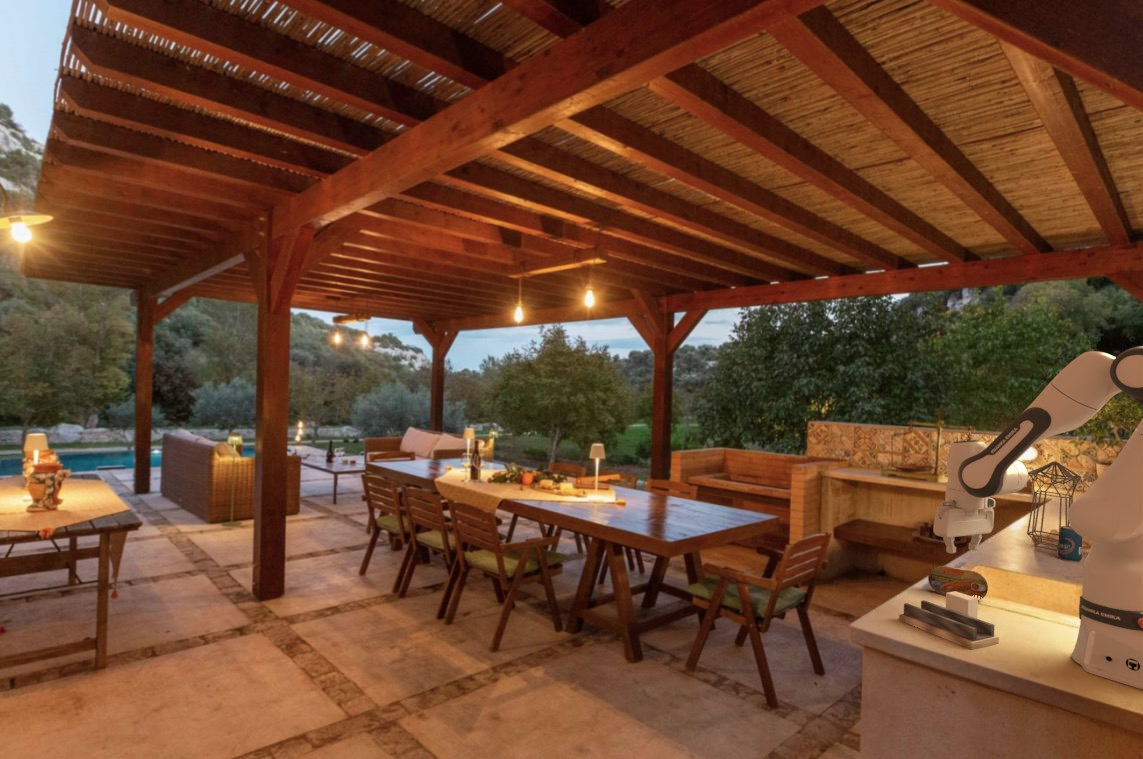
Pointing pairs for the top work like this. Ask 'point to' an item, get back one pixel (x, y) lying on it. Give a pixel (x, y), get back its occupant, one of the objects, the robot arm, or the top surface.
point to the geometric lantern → (1035, 473)
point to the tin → (957, 581)
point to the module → (962, 603)
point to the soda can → (1069, 545)
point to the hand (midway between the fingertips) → (962, 551)
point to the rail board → (950, 625)
